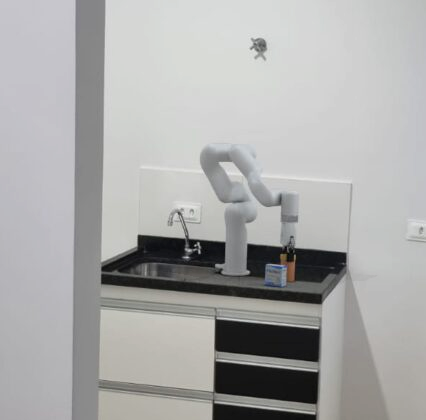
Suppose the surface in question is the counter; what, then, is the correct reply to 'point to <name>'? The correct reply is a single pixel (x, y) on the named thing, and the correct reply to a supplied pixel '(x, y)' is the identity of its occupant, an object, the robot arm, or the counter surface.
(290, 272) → the jam jar
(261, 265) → the counter surface
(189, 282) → the counter surface
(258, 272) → the counter surface
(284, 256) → the jar lid
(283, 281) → the medicine box
